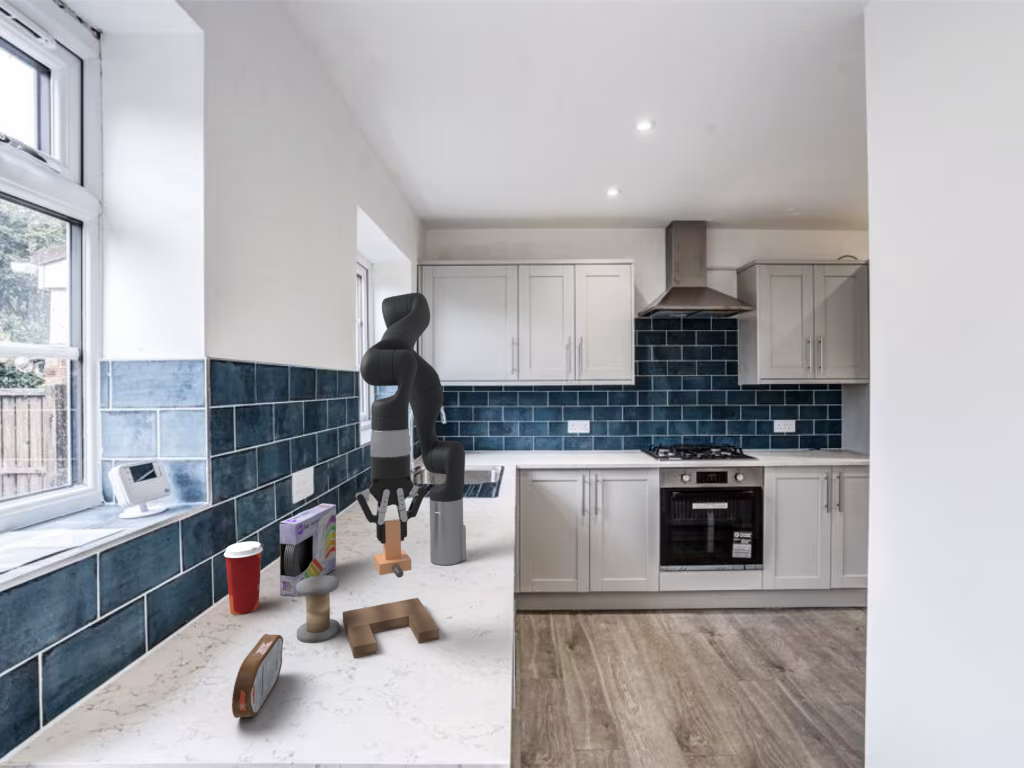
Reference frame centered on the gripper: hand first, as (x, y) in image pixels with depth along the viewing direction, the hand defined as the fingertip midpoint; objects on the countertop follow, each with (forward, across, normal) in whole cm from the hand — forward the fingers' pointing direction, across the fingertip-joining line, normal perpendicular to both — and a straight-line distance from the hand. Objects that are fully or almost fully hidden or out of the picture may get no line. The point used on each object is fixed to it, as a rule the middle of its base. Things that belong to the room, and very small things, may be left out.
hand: (391, 540), depth 101 cm
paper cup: (+19, +27, -28) cm, 43 cm away
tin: (+19, +23, +10) cm, 32 cm away
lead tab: (+5, 0, +2) cm, 6 cm away
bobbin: (+19, +13, -9) cm, 25 cm away
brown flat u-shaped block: (+19, 0, -4) cm, 19 cm away
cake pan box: (+19, +13, -38) cm, 45 cm away
